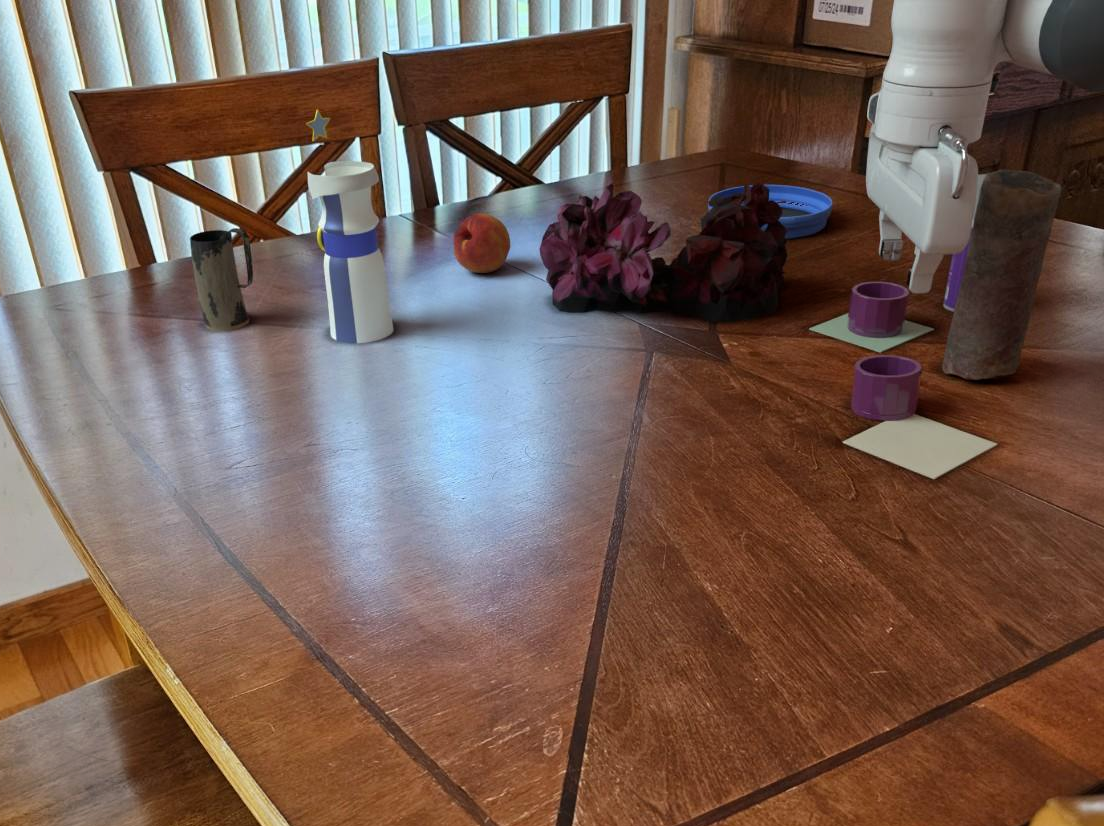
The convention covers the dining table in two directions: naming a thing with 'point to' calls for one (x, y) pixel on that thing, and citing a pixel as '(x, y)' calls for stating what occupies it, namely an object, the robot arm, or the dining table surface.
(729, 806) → the dining table surface
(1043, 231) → the grey stone cylinder
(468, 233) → the fruit
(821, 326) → the pad far
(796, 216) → the bowl
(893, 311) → the dish
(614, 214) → the flower arrangement
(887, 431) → the pad near
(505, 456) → the dining table surface
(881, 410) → the dish
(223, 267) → the mug
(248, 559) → the dining table surface
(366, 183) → the water bottle
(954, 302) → the container
